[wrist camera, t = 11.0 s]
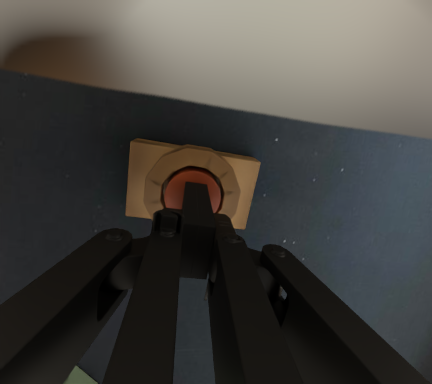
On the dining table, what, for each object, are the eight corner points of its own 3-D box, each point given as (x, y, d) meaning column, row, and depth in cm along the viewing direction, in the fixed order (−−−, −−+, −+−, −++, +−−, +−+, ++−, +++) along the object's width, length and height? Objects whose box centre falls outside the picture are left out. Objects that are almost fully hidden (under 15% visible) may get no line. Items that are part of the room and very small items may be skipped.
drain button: (163, 211, 19) (161, 220, 17) (169, 161, 18) (167, 167, 16) (213, 217, 19) (215, 227, 18) (222, 169, 18) (225, 175, 17)
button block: (131, 210, 21) (118, 231, 18) (136, 132, 19) (123, 137, 15) (239, 223, 23) (248, 245, 19) (255, 152, 21) (269, 161, 17)
